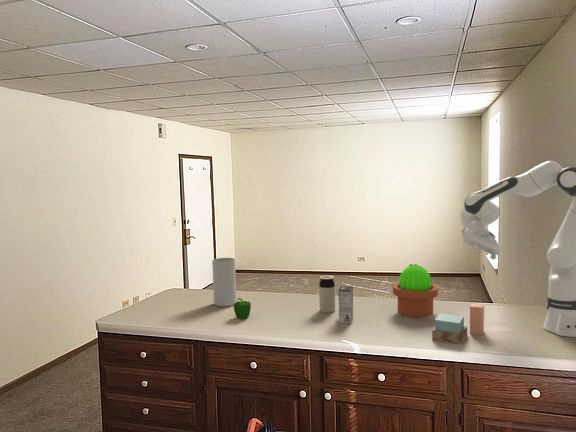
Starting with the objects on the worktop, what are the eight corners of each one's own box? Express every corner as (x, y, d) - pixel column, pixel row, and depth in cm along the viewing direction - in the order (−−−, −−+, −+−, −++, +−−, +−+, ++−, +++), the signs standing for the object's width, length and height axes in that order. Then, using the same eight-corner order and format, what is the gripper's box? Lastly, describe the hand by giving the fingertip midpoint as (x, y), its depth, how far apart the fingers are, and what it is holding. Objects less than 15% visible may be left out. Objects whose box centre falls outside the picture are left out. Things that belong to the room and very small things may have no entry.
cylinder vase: (227, 299, 272) (226, 256, 270) (241, 303, 263) (239, 259, 261) (209, 304, 264) (207, 260, 261) (222, 308, 254) (220, 262, 252)
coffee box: (340, 317, 234) (340, 285, 232) (353, 317, 233) (353, 285, 231) (338, 323, 225) (338, 290, 223) (352, 323, 224) (351, 290, 222)
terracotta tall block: (483, 331, 208) (484, 304, 207) (481, 334, 204) (482, 307, 203) (471, 329, 211) (472, 303, 210) (469, 333, 207) (469, 306, 206)
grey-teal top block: (463, 326, 203) (463, 316, 203) (459, 333, 195) (459, 323, 194) (439, 323, 208) (440, 313, 208) (434, 330, 200) (434, 319, 199)
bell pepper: (254, 317, 237) (254, 297, 236) (242, 321, 231) (241, 301, 230) (243, 314, 243) (242, 295, 242) (231, 317, 237) (230, 298, 236)
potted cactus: (436, 321, 224) (436, 269, 222) (389, 316, 232) (389, 267, 230) (439, 308, 245) (439, 260, 242) (396, 305, 253) (396, 259, 250)
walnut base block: (467, 336, 204) (467, 326, 204) (461, 345, 194) (462, 334, 193) (438, 332, 210) (438, 322, 210) (432, 340, 200) (432, 330, 199)
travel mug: (330, 314, 240) (330, 279, 238) (317, 311, 244) (316, 277, 242) (337, 310, 246) (337, 276, 245) (324, 308, 250) (323, 274, 249)
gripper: (465, 222, 220) (474, 244, 210) (497, 236, 227) (507, 258, 217) (456, 230, 224) (464, 252, 214) (487, 244, 231) (497, 266, 221)
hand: (486, 255), depth 215 cm, fingers open, 8 cm apart
